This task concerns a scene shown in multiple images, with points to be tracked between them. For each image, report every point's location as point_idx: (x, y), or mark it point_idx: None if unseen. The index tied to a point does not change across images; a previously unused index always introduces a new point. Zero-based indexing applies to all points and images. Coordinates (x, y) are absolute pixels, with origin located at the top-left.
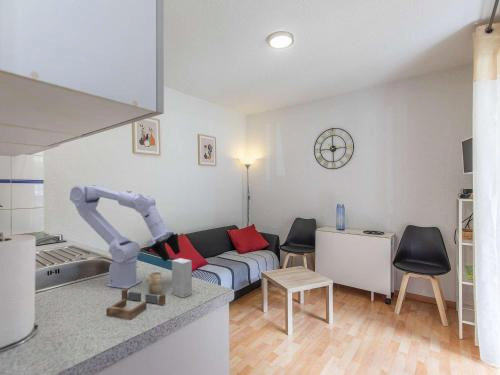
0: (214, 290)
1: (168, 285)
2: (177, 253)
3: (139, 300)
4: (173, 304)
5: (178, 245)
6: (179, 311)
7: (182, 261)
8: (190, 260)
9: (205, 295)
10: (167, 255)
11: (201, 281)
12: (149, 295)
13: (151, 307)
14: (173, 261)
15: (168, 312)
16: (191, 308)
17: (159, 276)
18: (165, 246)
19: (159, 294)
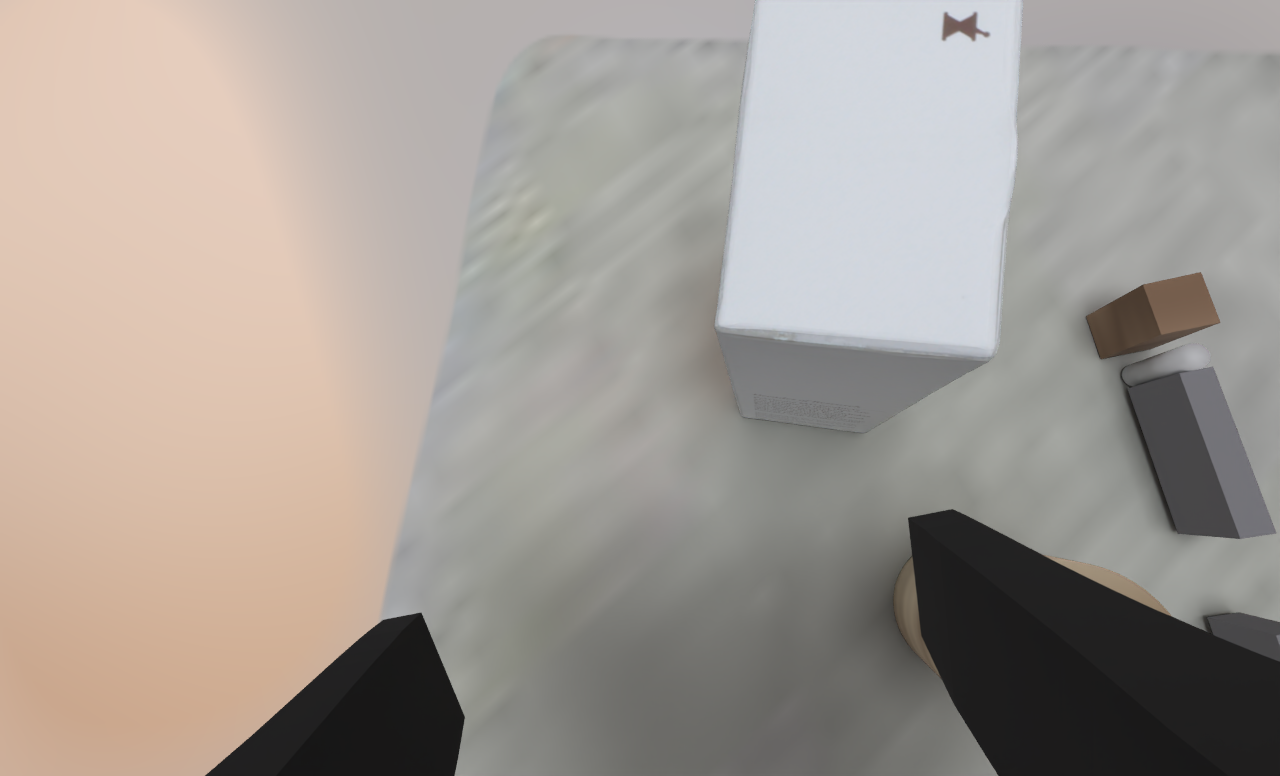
0: (582, 135)
1: (694, 647)
2: (443, 672)
3: (1241, 613)
4: (1046, 239)
5: (245, 756)
6: (1124, 91)
7: (925, 87)
8: (774, 4)
9: (717, 129)
10: (1023, 546)
11: (442, 388)
12: (1246, 473)
13: (1240, 376)
14: (1000, 298)
15: (1206, 156)
16: None
17: (1056, 560)
18: (1220, 769)
19: None
